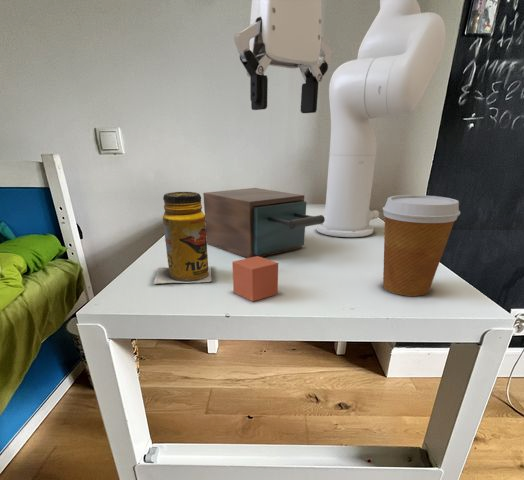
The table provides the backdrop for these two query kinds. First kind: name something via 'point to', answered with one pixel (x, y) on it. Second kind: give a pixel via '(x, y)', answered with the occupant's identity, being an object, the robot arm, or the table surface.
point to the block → (255, 278)
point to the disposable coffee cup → (415, 240)
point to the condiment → (184, 240)
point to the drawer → (281, 226)
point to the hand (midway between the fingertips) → (284, 111)
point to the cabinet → (239, 217)
